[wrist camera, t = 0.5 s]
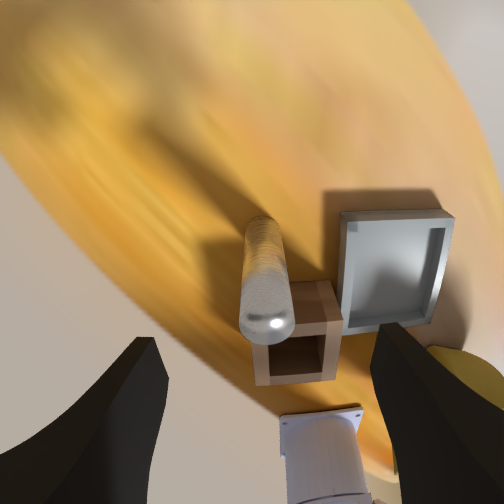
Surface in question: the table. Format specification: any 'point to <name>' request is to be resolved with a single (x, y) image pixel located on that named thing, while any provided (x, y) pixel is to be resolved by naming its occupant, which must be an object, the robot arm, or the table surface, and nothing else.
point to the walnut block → (304, 340)
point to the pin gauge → (265, 285)
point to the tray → (391, 266)
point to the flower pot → (470, 376)
